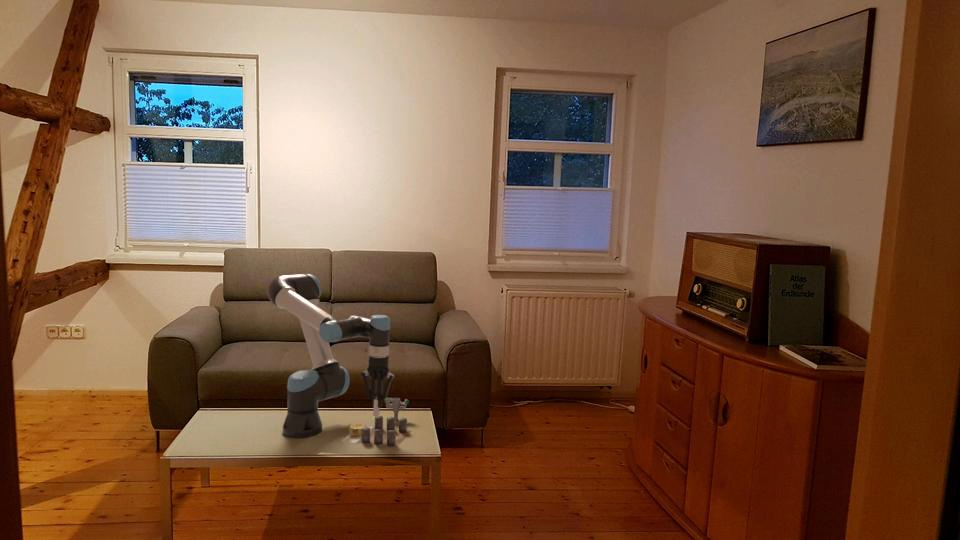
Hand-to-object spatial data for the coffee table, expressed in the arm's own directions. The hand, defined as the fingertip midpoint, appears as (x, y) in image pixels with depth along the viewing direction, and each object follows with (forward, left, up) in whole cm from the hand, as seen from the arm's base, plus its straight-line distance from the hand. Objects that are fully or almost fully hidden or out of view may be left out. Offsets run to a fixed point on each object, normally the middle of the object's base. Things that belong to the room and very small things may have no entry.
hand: (376, 415), depth 236 cm
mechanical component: (+2, +19, -9) cm, 21 cm away
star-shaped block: (-7, 0, -8) cm, 11 cm away
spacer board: (+1, 0, -9) cm, 9 cm away
